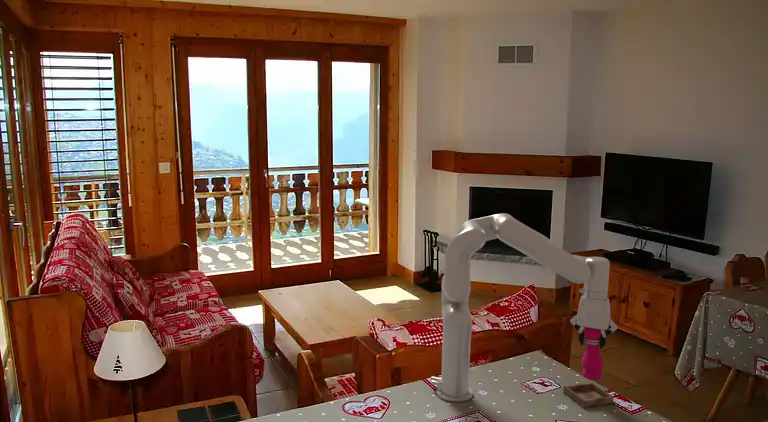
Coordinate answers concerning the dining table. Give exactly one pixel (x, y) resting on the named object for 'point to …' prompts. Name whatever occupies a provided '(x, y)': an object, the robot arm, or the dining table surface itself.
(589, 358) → the magenta pepper mill
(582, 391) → the walnut tray
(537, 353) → the dining table surface
